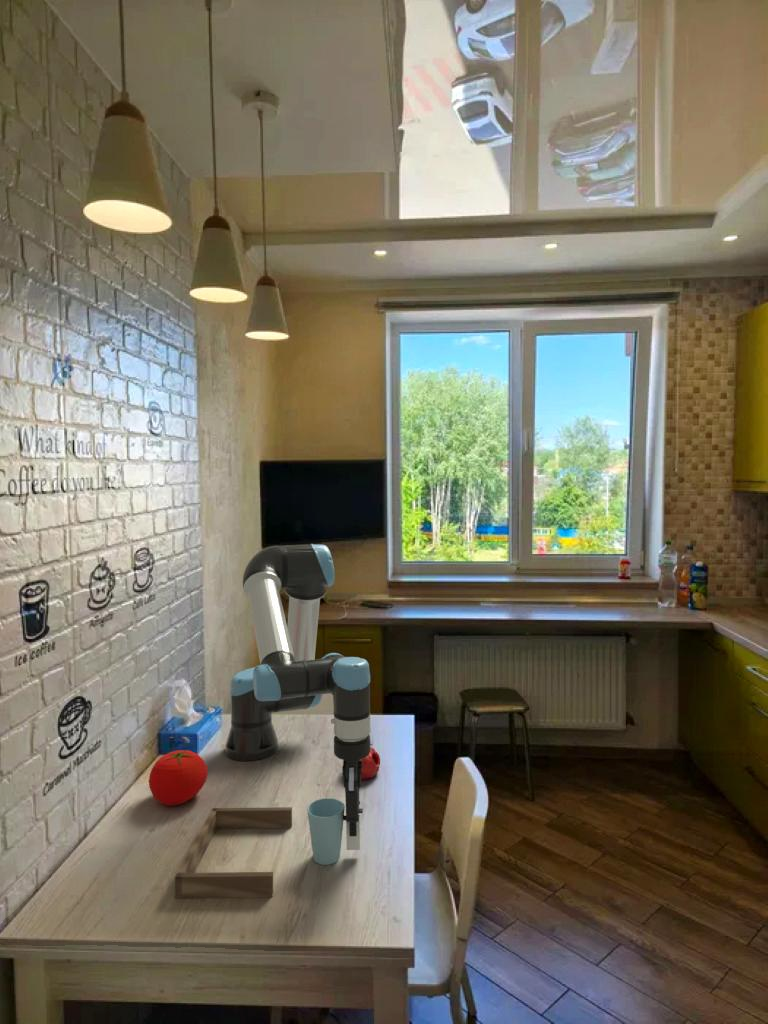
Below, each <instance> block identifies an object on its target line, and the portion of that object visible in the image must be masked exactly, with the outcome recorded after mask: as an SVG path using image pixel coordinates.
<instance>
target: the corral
mask: <svg viewBox="0 0 768 1024" xmlns="http://www.w3.org/2000/svg"><path fill="white" fill-rule="evenodd" d="M292 827H293V807H291V806H290V807H289V806H286V807H282V806H281V807H280V806H279V807H221V808H220V807H218V808H217V807H212V809H211V811H210V812H209V813H208V816H207V818H206V820H205V821H204V824H203V825H202V827H201V829H200V831H199V832H198V834H197V836H196V838H195V839H194V841H193V843H192V846H191V847H190V848H189V851H188V852H187V855H186V856H185V858H184V860H183V861H182V864H181V866H180V867H179V868H178V871H177V873H176V874H175V876H174V886H175V887H174V891H175V893H174V894H175V899H212V898H213V899H215V898H216V899H217V898H218V899H220V898H221V899H222V898H223V899H225V898H226V899H227V898H228V899H231V898H233V899H235V898H237V899H238V898H273V896H274V871H248V872H247V871H238V872H237V871H234V872H228V871H227V872H196V871H197V869H198V867H199V866H200V863H201V861H202V859H203V857H204V855H205V853H206V851H207V848H208V847H209V845H210V843H211V841H212V839H213V838H214V835H215V833H216V831H217V829H272V828H273V829H285V828H286V829H287V828H291V829H292Z"/></svg>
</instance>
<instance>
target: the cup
mask: <svg viewBox="0 0 768 1024" xmlns="http://www.w3.org/2000/svg"><path fill="white" fill-rule="evenodd" d="M306 810H307V817H308V818H307V819H308V825H309V833H310V842H311V849H312V858H313V861H314V862H315V863H316V864H319V865H322V866H327V865H329V866H330V865H333V864H334V863H337V861H339V859H340V857H341V850H342V840H343V838H342V837H343V831H344V830H343V828H344V820H343V816H345V810H346V805H345V804H344V802H343V801H341V800H340V799H337V798H331V797H324V798H318V799H316V800H313V801H312V802H310V804H308V805H307V809H306Z"/></svg>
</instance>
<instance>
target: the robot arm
mask: <svg viewBox="0 0 768 1024" xmlns="http://www.w3.org/2000/svg"><path fill="white" fill-rule="evenodd" d="M331 553H332V552H331V551H330V549H329V547H328V546H327V545H325V544H314V543H310V544H293V545H292V544H291V545H290V544H289V545H288V544H287V545H271V546H267V547H265V548H262V549H261V550H259V551H258V552H257V553H256V554H255V555H254V556H253V557H252V558H251V559H250V560H249V561H248V564H246V567H245V569H244V573H243V576H242V588H243V593H244V595H245V597H246V598H248V599H249V600H248V601H249V606H250V612H251V618H252V623H253V629H254V635H255V640H256V645H257V652H258V657H259V664H260V665H256V666H255V667H250V668H247V669H244V670H241V671H238V672H237V673H235V674H234V675H233V676H232V678H231V680H230V692H229V695H230V708H231V709H230V721H231V722H230V728H229V732H228V736H227V739H226V741H225V756H227V758H230V759H232V760H235V761H243V762H244V761H245V762H248V761H257V760H261V759H265V758H268V757H270V756H272V755H273V754H275V753H277V751H278V749H279V740H278V736H277V733H276V731H275V728H274V725H273V721H272V719H273V718H272V714H274V713H281V712H288V711H289V712H290V711H291V712H292V711H299V710H307V709H310V708H311V709H312V708H315V707H317V706H318V705H319V704H320V703H321V701H322V698H323V695H327V694H328V695H329V694H331V695H332V698H333V700H332V701H333V718H331V719H330V723H331V724H332V725H333V734H334V737H333V754H334V756H335V757H336V758H338V759H339V760H342V768H341V770H342V775H343V788H344V791H345V792H344V793H345V815H344V816H343V821H345V822H346V823H345V824H346V825H345V826H346V831H345V832H346V851H360V850H361V825H360V824H361V819H360V818H361V815H360V814H363V813H364V812H363V811H364V809H363V808H360V804H361V801H360V788H361V786H362V779H361V774H362V760H360V759H364V758H366V757H367V756H368V755H369V754H370V747H371V745H370V744H371V736H370V734H371V691H370V690H371V678H372V677H371V672H370V664H369V662H368V661H367V659H365V658H361V657H359V656H344V655H342V654H340V653H337V652H330V653H327V654H326V655H324V656H322V658H317V659H316V658H315V657H316V648H317V635H318V625H319V615H320V606H321V605H320V604H321V603H320V602H321V599H322V598H323V597H324V596H326V593H327V588H328V587H331V586H334V584H335V579H336V578H335V576H336V575H335V566H334V562H333V561H334V560H333V557H332V554H331ZM281 590H284V593H285V594H286V595H287V596H288V599H289V600H288V611H287V613H288V614H287V621H286V616H285V611H284V607H283V603H282V598H281V594H280V591H281Z"/></svg>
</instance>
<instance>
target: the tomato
mask: <svg viewBox="0 0 768 1024" xmlns="http://www.w3.org/2000/svg"><path fill="white" fill-rule="evenodd" d="M208 769H209V768H208V766H207V764H206V762H205V760H204V759H203V758H202V757H201V756H200V755H199V754H198V753H196V752H193V751H192V750H188V749H185V750H184V749H180V750H178V749H177V750H174V751H171V752H168V753H166V754H164V755H163V756H161V757H160V758H158V759H157V760H156V762H155V763H154V764H153V767H152V768H151V770H150V772H149V778H148V785H149V790H150V792H151V794H152V797H154V798H155V800H157V802H159V803H161V804H162V805H165V806H169V807H170V806H171V807H172V806H174V807H175V806H178V805H181V804H184V803H186V802H188V801H189V800H191V799H192V798H194V797H195V796H197V794H199V792H200V791H201V790H202V789H203V787H204V785H205V783H206V781H207V779H208V775H209V770H208Z"/></svg>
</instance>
